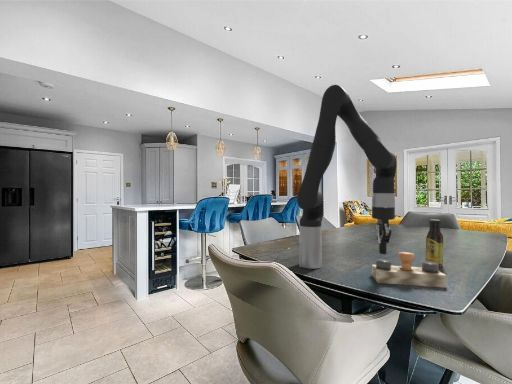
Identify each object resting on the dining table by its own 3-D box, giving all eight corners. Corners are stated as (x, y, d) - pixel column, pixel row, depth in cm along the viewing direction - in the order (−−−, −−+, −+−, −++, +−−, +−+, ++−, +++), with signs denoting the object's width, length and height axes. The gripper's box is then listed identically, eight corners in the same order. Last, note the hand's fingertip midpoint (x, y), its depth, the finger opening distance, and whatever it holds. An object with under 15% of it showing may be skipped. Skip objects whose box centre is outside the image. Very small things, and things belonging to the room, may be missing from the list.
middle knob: (401, 273, 90) (401, 254, 90) (396, 269, 94) (396, 251, 94) (416, 273, 89) (416, 255, 89) (411, 270, 93) (411, 252, 93)
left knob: (377, 280, 91) (377, 262, 91) (374, 276, 96) (374, 258, 96) (392, 281, 90) (392, 263, 90) (388, 277, 95) (388, 259, 95)
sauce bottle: (422, 263, 114) (422, 218, 114) (436, 263, 114) (436, 218, 114) (432, 267, 108) (431, 220, 108) (447, 268, 107) (446, 220, 108)
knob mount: (377, 282, 89) (377, 271, 89) (371, 274, 98) (371, 264, 98) (446, 287, 85) (446, 275, 85) (434, 278, 93) (433, 267, 94)
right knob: (425, 283, 88) (425, 264, 88) (419, 279, 93) (419, 261, 93) (441, 284, 87) (441, 265, 87) (434, 280, 92) (434, 262, 92)
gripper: (368, 204, 101) (367, 249, 101) (376, 206, 88) (375, 257, 88) (389, 205, 99) (388, 250, 99) (400, 207, 86) (399, 259, 86)
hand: (382, 253), depth 93 cm, fingers closed
